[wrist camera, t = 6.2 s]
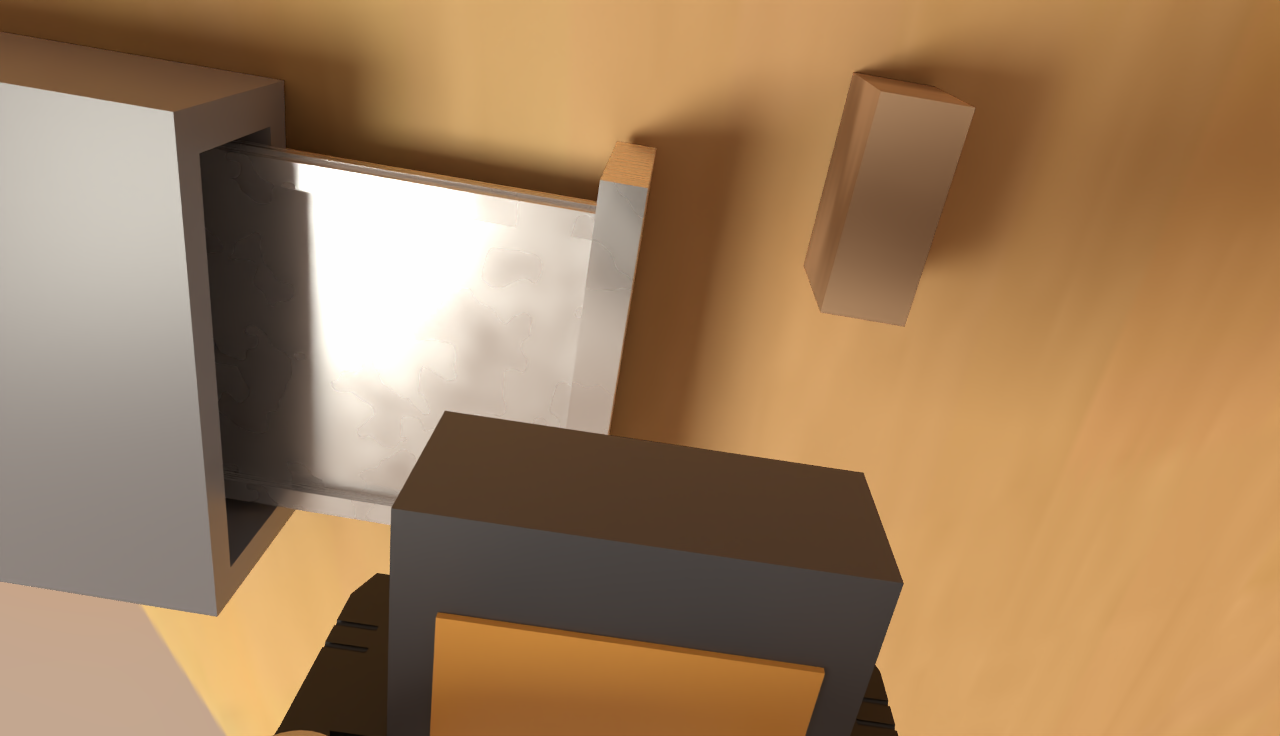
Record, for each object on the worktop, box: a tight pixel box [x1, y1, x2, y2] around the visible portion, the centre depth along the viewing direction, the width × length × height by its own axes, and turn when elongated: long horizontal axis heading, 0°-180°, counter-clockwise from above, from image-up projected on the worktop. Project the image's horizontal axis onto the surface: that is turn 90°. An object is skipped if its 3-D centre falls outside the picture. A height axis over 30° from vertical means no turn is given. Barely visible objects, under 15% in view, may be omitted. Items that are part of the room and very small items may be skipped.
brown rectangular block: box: [804, 72, 975, 327], centre depth 24 cm, size 6×2×4 cm, turn 171°
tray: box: [199, 140, 656, 525], centre depth 26 cm, size 16×16×5 cm
